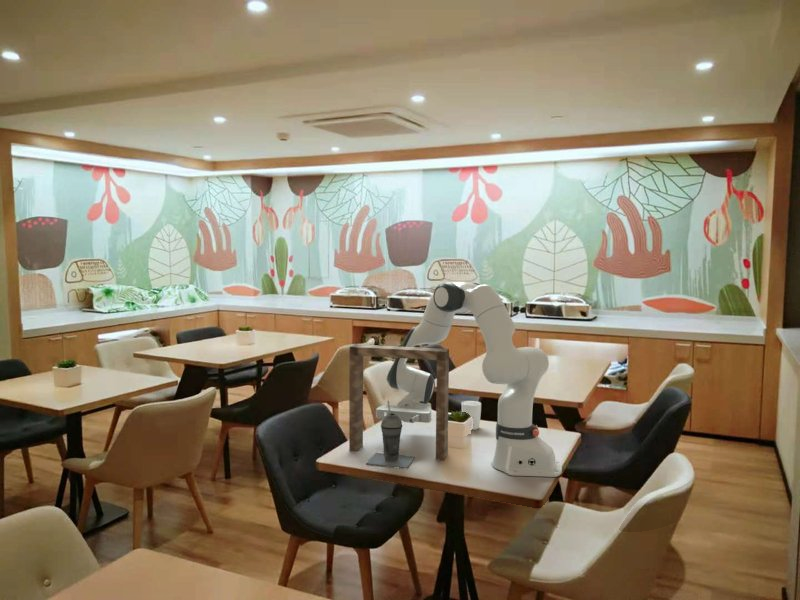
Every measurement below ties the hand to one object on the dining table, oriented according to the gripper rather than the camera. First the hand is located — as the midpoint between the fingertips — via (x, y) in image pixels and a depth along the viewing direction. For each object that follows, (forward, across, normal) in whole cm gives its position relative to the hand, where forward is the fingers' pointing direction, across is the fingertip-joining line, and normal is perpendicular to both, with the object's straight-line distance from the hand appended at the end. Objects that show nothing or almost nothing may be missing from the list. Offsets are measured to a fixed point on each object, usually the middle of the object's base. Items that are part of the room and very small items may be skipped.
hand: (398, 419), depth 209 cm
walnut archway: (+1, 0, +12) cm, 12 cm away
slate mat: (+10, 0, +12) cm, 15 cm away
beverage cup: (+10, 0, +11) cm, 15 cm away
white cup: (-37, +20, +12) cm, 44 cm away
